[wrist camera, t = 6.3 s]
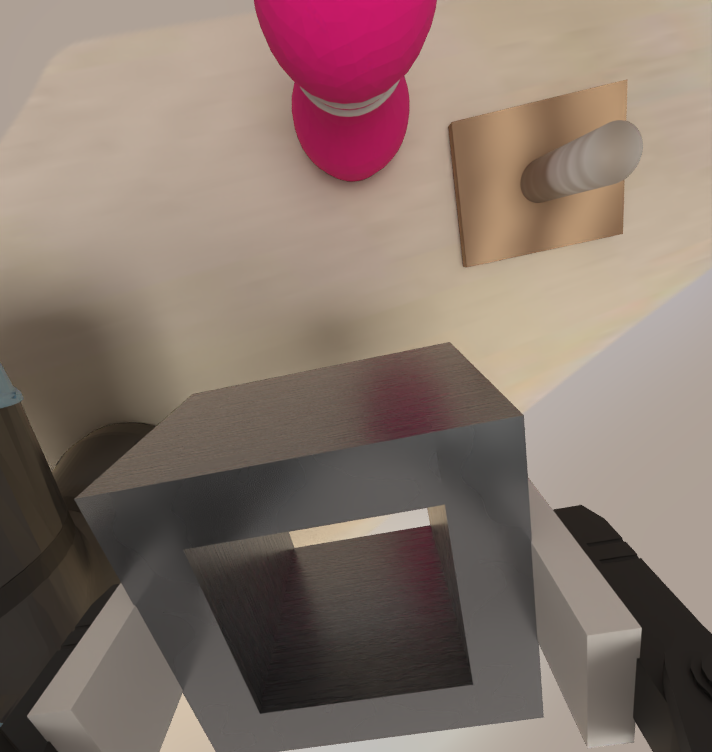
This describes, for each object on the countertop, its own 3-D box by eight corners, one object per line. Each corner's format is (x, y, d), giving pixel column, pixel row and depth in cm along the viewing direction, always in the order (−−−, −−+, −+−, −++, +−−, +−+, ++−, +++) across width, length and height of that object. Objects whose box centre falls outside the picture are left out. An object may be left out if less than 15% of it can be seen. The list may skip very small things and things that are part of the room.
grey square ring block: (266, 585, 14) (219, 759, 9) (192, 394, 11) (73, 499, 7) (476, 550, 13) (543, 717, 9) (449, 342, 11) (523, 415, 6)
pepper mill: (374, 52, 25) (428, -544, 6) (416, 158, 27) (552, -45, 8) (284, 108, 26) (97, -254, 7) (331, 206, 28) (280, 121, 9)
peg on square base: (463, 266, 30) (506, 273, 21) (448, 126, 27) (491, 68, 18) (614, 234, 29) (721, 227, 20) (617, 85, 26) (746, 4, 17)
